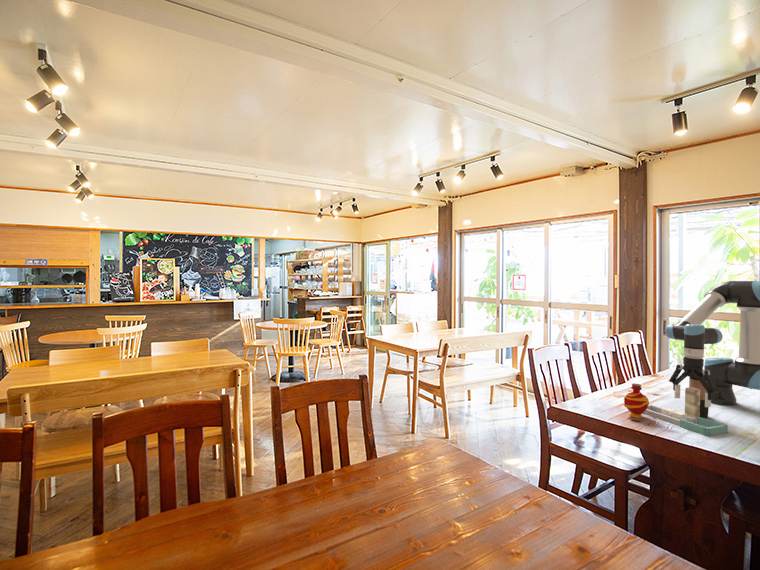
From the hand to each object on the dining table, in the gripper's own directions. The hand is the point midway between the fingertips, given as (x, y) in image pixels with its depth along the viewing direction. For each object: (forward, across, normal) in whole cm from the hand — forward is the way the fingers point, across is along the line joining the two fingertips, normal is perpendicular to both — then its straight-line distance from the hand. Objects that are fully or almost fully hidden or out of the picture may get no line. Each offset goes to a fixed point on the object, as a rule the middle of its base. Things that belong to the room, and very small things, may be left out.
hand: (691, 402), depth 188 cm
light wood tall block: (+8, 0, 0) cm, 8 cm away
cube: (+8, +1, -10) cm, 12 cm away
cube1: (+8, -4, -10) cm, 13 cm away
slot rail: (+8, -5, -10) cm, 13 cm away
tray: (+8, +11, -10) cm, 17 cm away
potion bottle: (+8, -10, -22) cm, 26 cm away
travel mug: (+8, -2, +8) cm, 11 cm away
